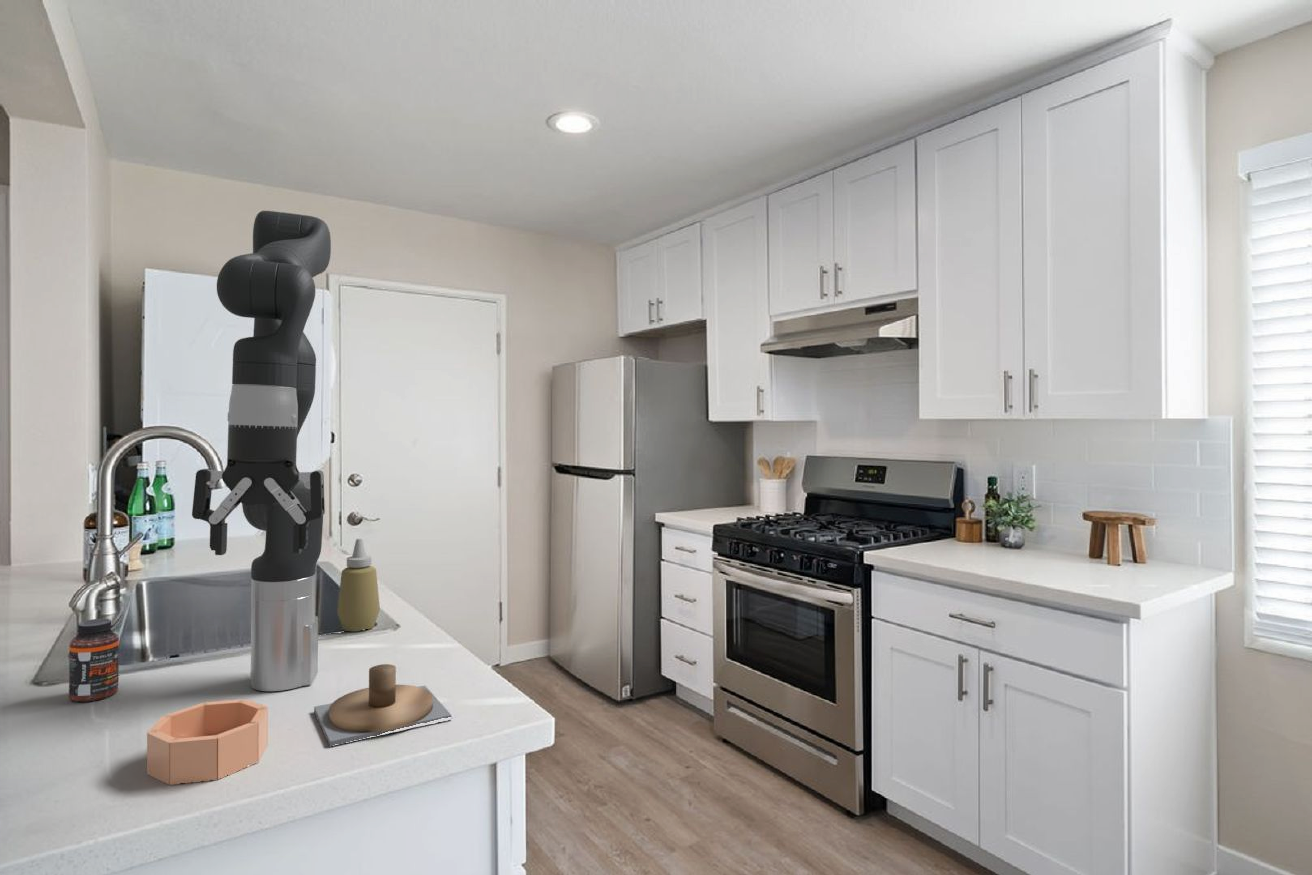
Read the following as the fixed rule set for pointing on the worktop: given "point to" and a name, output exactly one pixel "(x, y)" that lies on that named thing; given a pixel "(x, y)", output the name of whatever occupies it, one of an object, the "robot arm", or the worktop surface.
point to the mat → (343, 736)
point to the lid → (381, 704)
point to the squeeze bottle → (358, 592)
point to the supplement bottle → (93, 661)
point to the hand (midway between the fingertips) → (259, 553)
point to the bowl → (207, 741)
